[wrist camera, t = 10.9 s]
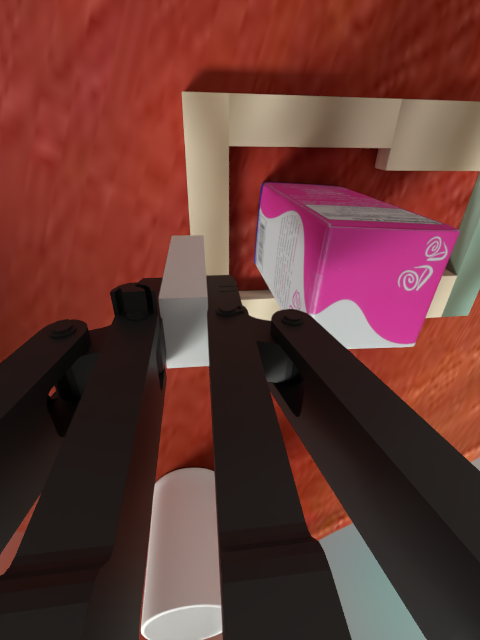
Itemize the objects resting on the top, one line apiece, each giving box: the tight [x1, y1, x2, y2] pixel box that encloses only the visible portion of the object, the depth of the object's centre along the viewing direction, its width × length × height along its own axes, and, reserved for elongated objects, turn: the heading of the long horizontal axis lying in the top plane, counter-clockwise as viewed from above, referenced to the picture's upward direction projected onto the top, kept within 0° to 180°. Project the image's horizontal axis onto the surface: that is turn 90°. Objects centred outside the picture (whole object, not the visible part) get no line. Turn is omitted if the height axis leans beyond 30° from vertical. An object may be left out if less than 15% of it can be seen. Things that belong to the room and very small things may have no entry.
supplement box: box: [254, 182, 460, 349], centre depth 18 cm, size 6×6×12 cm
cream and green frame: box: [182, 92, 480, 321], centre depth 23 cm, size 23×15×2 cm, turn 89°
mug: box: [141, 468, 222, 640], centre depth 33 cm, size 12×8×12 cm
